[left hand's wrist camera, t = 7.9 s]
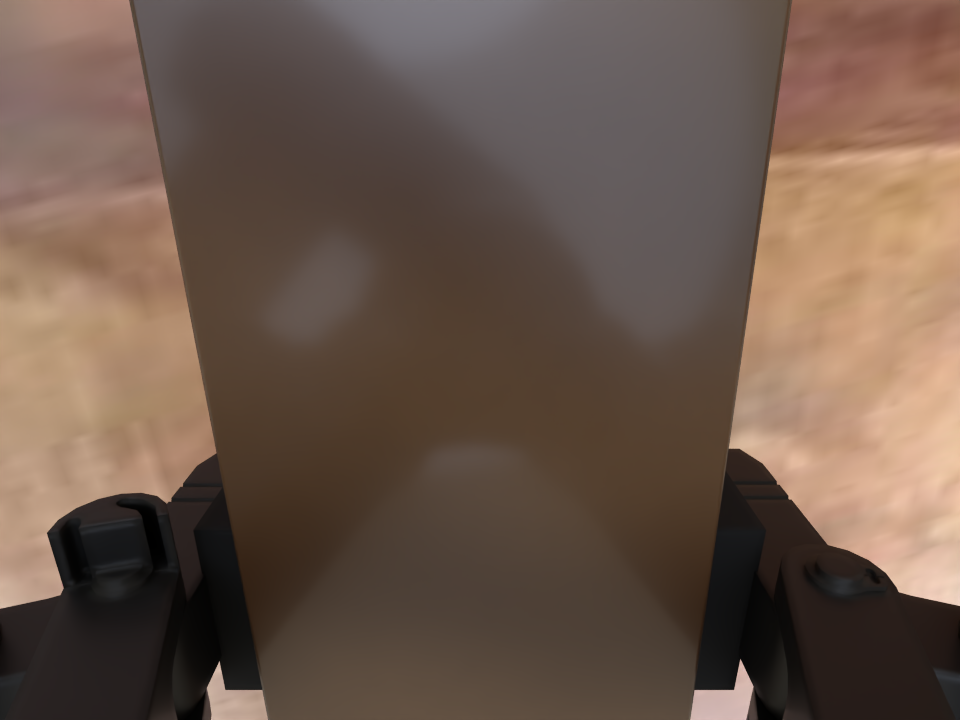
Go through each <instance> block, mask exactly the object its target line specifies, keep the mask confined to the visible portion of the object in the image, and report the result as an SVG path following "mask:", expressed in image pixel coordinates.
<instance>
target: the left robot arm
mask: <svg viewBox="0 0 960 720" xmlns="http://www.w3.org/2000/svg"><path fill="white" fill-rule="evenodd" d="M47 535H48V538H49V541H50V545H51V548H52V551H53V554H54V558H55V561H56V564H57V567H58V571H59V574H60V577H61V580H62V584H63V587H64V589H63V591H62V593H61V595H60V596H56V597H53V598H49V599H44V600H40V601H35V602H30V603H26V604H21V605H16V606H12V607H7V608H2V609H0V720H211V708H210V701H209V696H208V692H207V686H208V684H209V682H210V680H211V678H212V676H213V673H214V671H215V669H216V667H217V665H218V663H219V661H220V665H221V670H222V675H223V680H224V685H225V690H262V685H261V680H260V674H259V669H258V664H257V659H256V654H255V648H254V643H253V638H252V633H251V628H250V623H249V617H248V612H247V607H246V602H245V597H244V592H243V586H242V581H241V576H240V571H239V566H238V560H237V555H236V550H235V545H234V540H233V535H232V529H231V524H230V519H229V514H228V509H227V503H226V498H225V493H224V488H223V483H222V478H221V472H220V467H219V462H218V457H217V453H216V454H215V455H213V456H212V457H210V458H209V459H207V460H206V461H204V462H202V463H201V464H199V465H198V466H197V467H196V468H195V469H194V470H193V472H192V473H191V474H190V476H189V477H188V478H187V479H186V481H185V482H184V483H183V487H180V488H179V489H178V491H177V492H176V493H175V494H174V496H173V497H172V501H171V502H168V503H167V504H166V503H165V502H164V501H163V500H161V499H160V498H159V497H157V496H154V495H149V494H144V493H131V494H119V495H114V496H110V497H106V498H102V499H98V500H95V501H93V502H90V503H88V504H86V505H83V506H81V507H78V508H76V509H75V510H73V511H71V512H70V513H68V514H67V515H65V516H64V517H62V518H61V519H59V520H58V521H57V522H56V523H55V524H54V526H53V527H52V528H51V529H50V530H49V531H48V532H47ZM740 659H741V661H742V663H743V665H744V667H745V669H746V671H747V673H748V676H749V678H750V680H751V682H752V684H753V686H754V687H753V692H752V696H751V701H750V706H749V710H748V715H747V719H746V720H960V606H957V605H952V604H947V603H943V602H938V601H933V600H928V599H924V598H919V597H914V596H910V595H906V594H903V593H899V592H898V590H897V588H896V586H895V585H894V584H893V582H892V581H891V579H890V578H889V577H888V575H887V574H886V573H885V572H884V571H882V570H881V569H880V568H878V567H877V566H876V565H874V564H873V563H872V562H870V561H869V560H867V559H865V558H863V557H861V556H858V555H856V554H854V553H852V552H850V551H848V550H844V549H840V548H836V547H833V546H829V545H827V544H826V542H825V541H824V540H823V539H822V537H821V536H820V535H819V534H818V532H817V531H816V530H815V529H814V527H813V526H812V525H811V524H810V522H809V521H808V520H807V519H806V517H805V516H804V515H803V514H802V512H801V511H800V510H799V509H798V507H797V506H796V505H795V504H794V502H793V501H792V500H789V499H788V495H787V494H786V492H785V491H784V490H783V489H782V487H781V486H780V485H777V481H776V480H775V479H774V477H773V476H772V475H771V474H770V472H769V471H768V470H767V469H766V467H765V466H764V465H763V464H762V463H761V462H759V461H757V460H756V459H754V458H753V457H751V456H750V455H748V454H747V453H745V452H743V451H742V450H740V449H728V456H727V463H726V470H725V477H724V484H723V491H722V498H721V505H720V512H719V519H718V526H717V534H716V541H715V548H714V555H713V562H712V569H711V576H710V583H709V590H708V597H707V604H706V611H705V618H704V625H703V632H702V639H701V647H700V654H699V661H698V668H697V675H696V682H695V689H694V690H734V687H735V682H736V677H737V672H738V667H739V662H740Z"/></svg>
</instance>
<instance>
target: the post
mask: <svg viewBox="0 0 960 720" xmlns="http://www.w3.org/2000/svg"><path fill="white" fill-rule="evenodd" d="M129 1H130V6H131V11H132V17H133V22H134V27H135V32H136V37H137V43H138V48H139V53H140V58H141V63H142V68H143V74H144V79H145V84H146V89H147V94H148V99H149V105H150V110H151V115H152V120H153V125H154V131H155V136H156V141H157V146H158V151H159V156H160V162H161V167H162V172H163V177H164V182H165V188H166V193H167V198H168V203H169V208H170V213H171V219H172V224H173V229H174V234H175V239H176V245H177V250H178V255H179V260H180V265H181V270H182V276H183V281H184V286H185V291H186V296H187V301H188V307H189V312H190V317H191V322H192V327H193V333H194V338H195V343H196V348H197V353H198V358H199V364H200V369H201V374H202V379H203V384H204V390H205V395H206V400H207V405H208V410H209V415H210V421H211V426H212V431H213V436H214V441H215V446H216V452H217V457H218V462H219V467H220V472H221V478H222V483H223V488H224V493H225V498H226V503H227V509H228V514H229V519H230V524H231V529H232V535H233V540H234V545H235V550H236V555H237V560H238V566H239V571H240V576H241V581H242V586H243V592H244V597H245V602H246V607H247V612H248V617H249V623H250V628H251V633H252V638H253V643H254V648H255V654H256V659H257V664H258V669H259V674H260V680H261V685H262V690H263V695H264V700H265V705H266V711H267V716H268V720H690V717H691V710H692V703H693V696H694V689H695V682H696V675H697V668H698V661H699V654H700V647H701V639H702V632H703V625H704V618H705V611H706V604H707V597H708V590H709V583H710V576H711V569H712V562H713V555H714V548H715V541H716V534H717V526H718V519H719V512H720V505H721V498H722V491H723V484H724V477H725V470H726V463H727V456H728V449H729V442H730V435H731V428H732V420H733V413H734V406H735V399H736V392H737V385H738V378H739V371H740V364H741V357H742V350H743V343H744V336H745V329H746V322H747V314H748V307H749V300H750V293H751V286H752V279H753V272H754V265H755V258H756V251H757V244H758V237H759V230H760V223H761V216H762V208H763V201H764V194H765V187H766V180H767V173H768V166H769V159H770V152H771V145H772V138H773V131H774V124H775V117H776V110H777V102H778V95H779V88H780V81H781V74H782V67H783V60H784V53H785V46H786V39H787V32H788V25H789V18H790V11H791V4H792V0H129Z"/></svg>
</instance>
